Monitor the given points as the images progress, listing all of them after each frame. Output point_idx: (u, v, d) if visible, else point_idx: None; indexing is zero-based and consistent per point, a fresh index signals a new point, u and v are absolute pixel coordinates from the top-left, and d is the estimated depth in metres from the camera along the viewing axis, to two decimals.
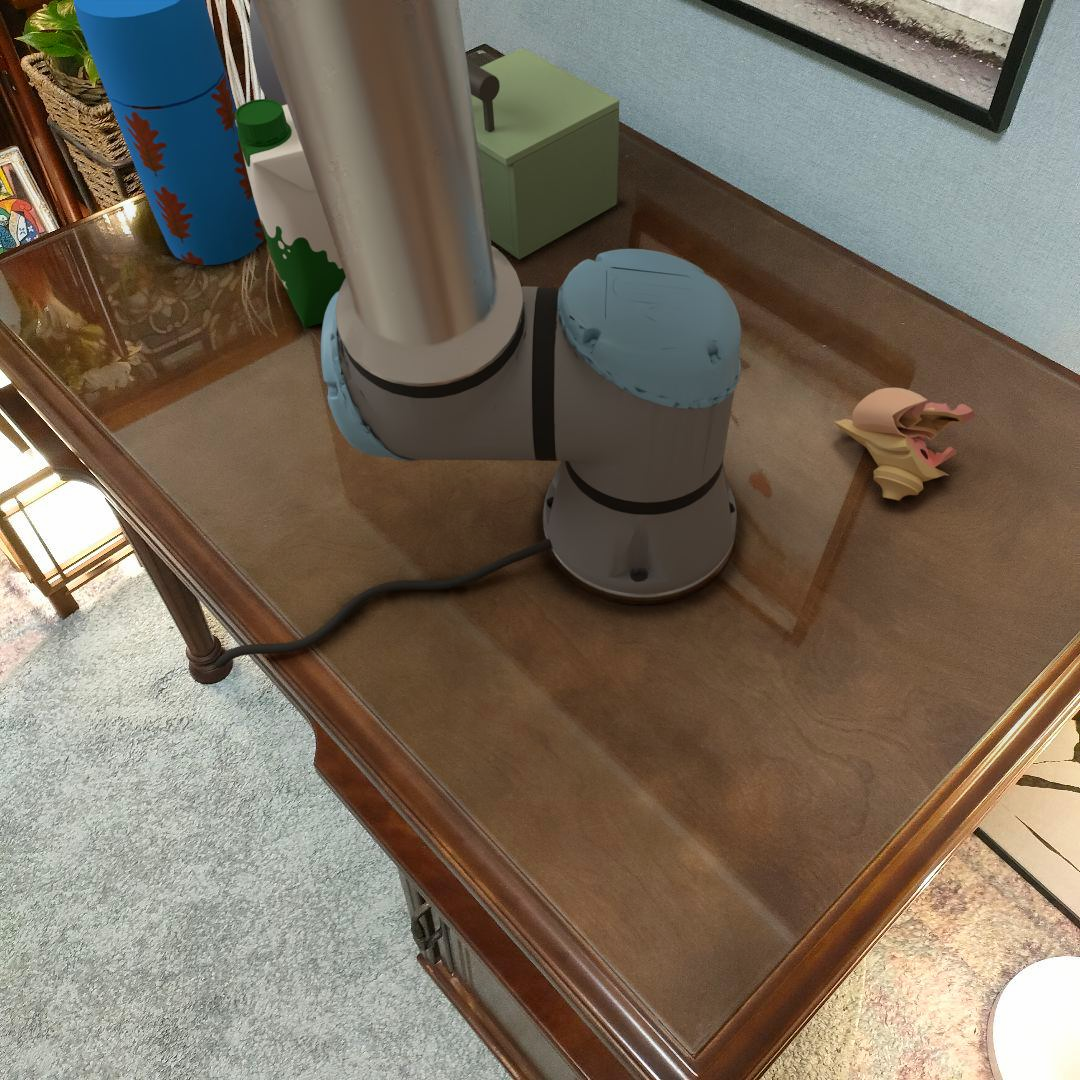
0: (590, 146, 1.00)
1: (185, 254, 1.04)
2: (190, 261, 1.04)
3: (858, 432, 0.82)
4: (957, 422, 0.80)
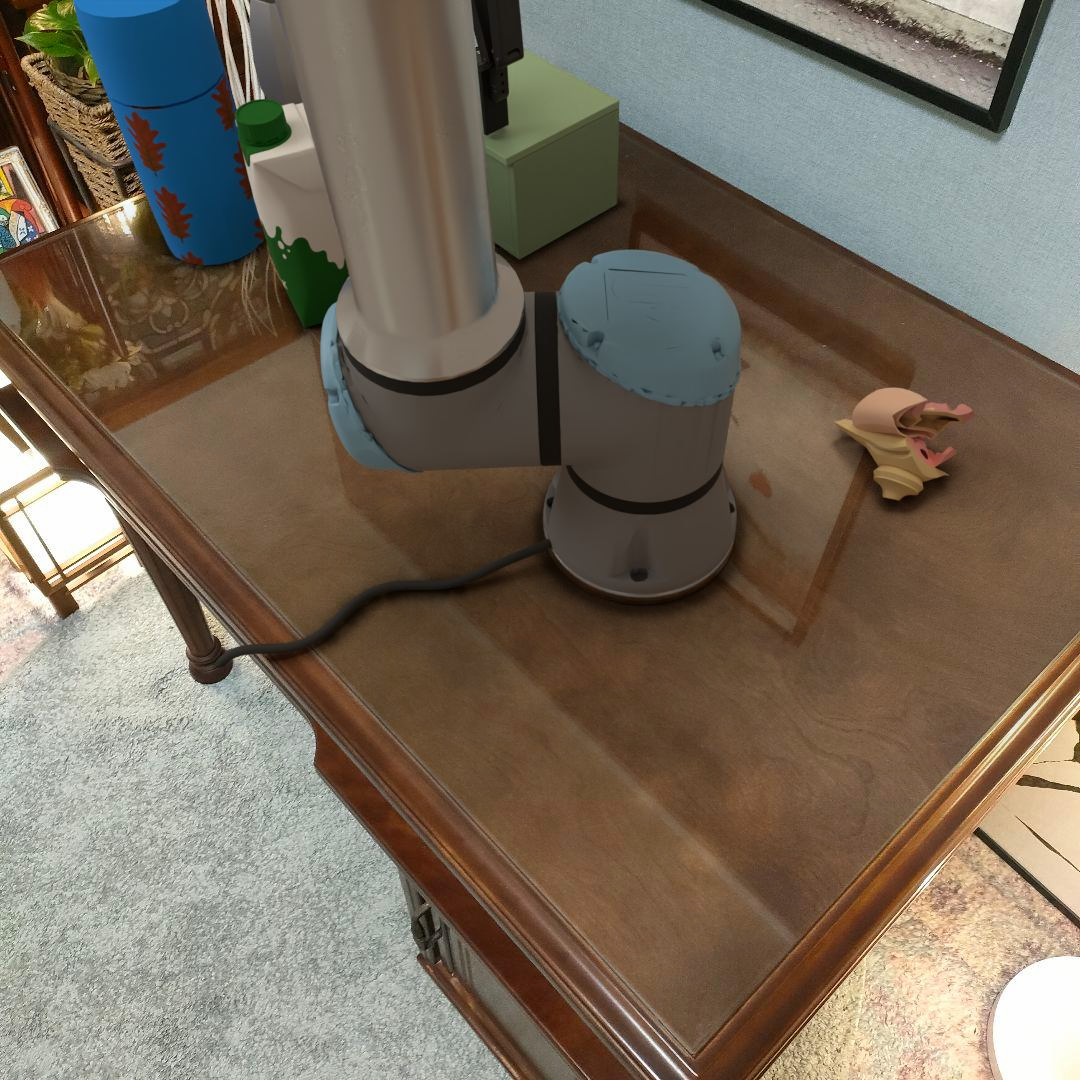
0: (590, 146, 1.00)
1: (185, 254, 1.04)
2: (190, 261, 1.04)
3: (858, 432, 0.82)
4: (957, 422, 0.80)
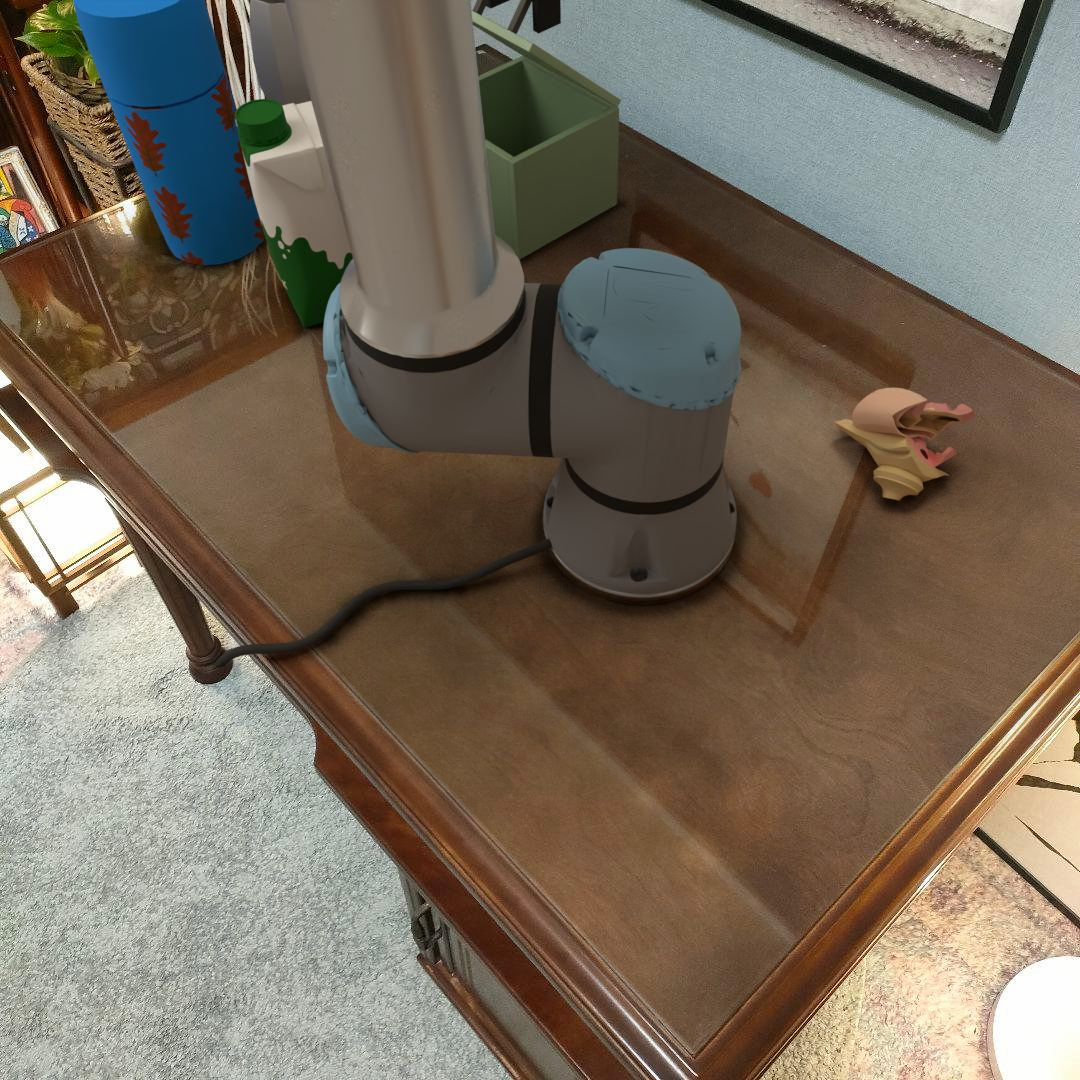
0: (590, 146, 1.00)
1: (185, 254, 1.04)
2: (190, 261, 1.04)
3: (858, 432, 0.82)
4: (957, 422, 0.80)
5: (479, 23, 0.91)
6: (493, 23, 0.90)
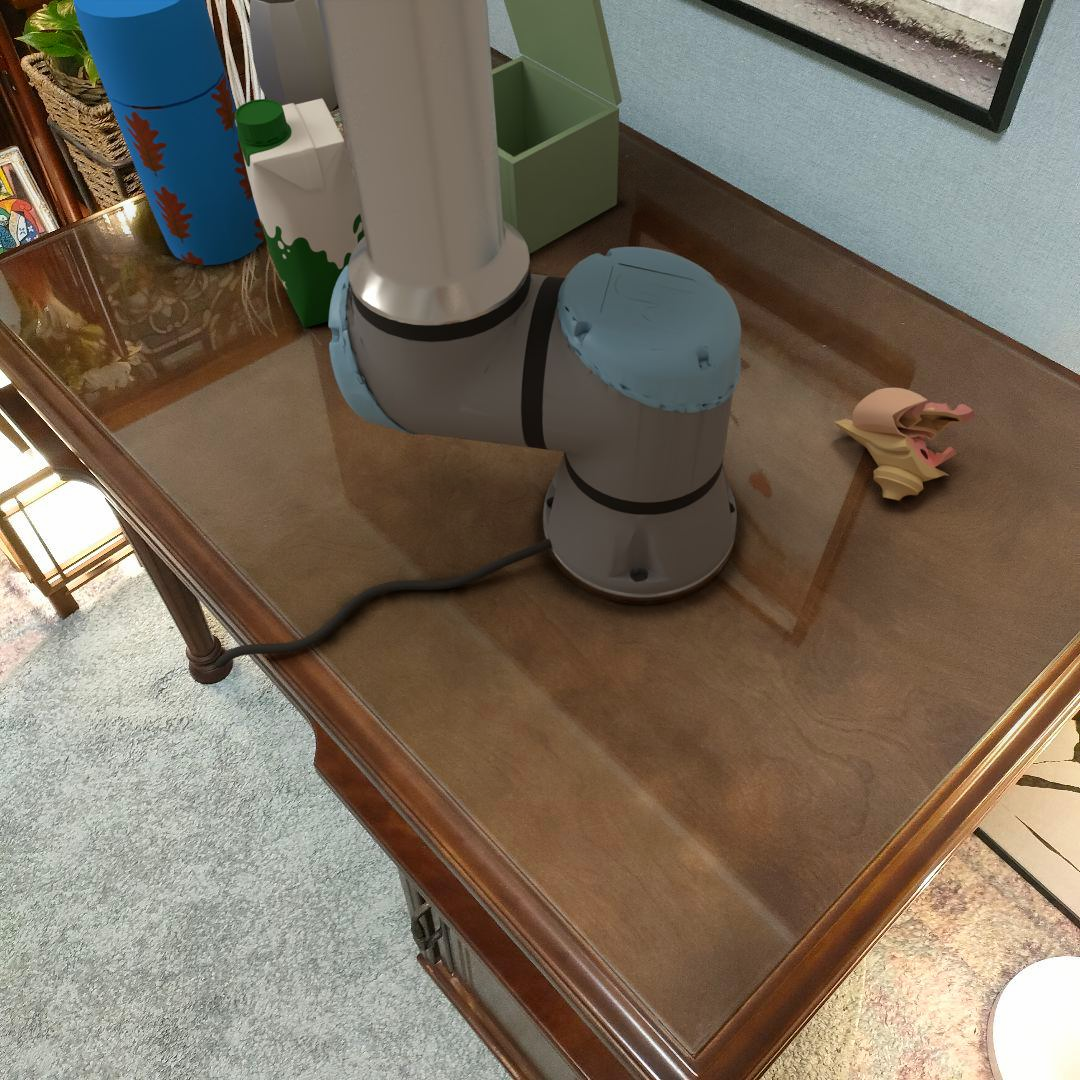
0: (590, 146, 1.00)
1: (185, 254, 1.04)
2: (190, 261, 1.04)
3: (858, 432, 0.82)
4: (957, 422, 0.80)
5: None
6: None
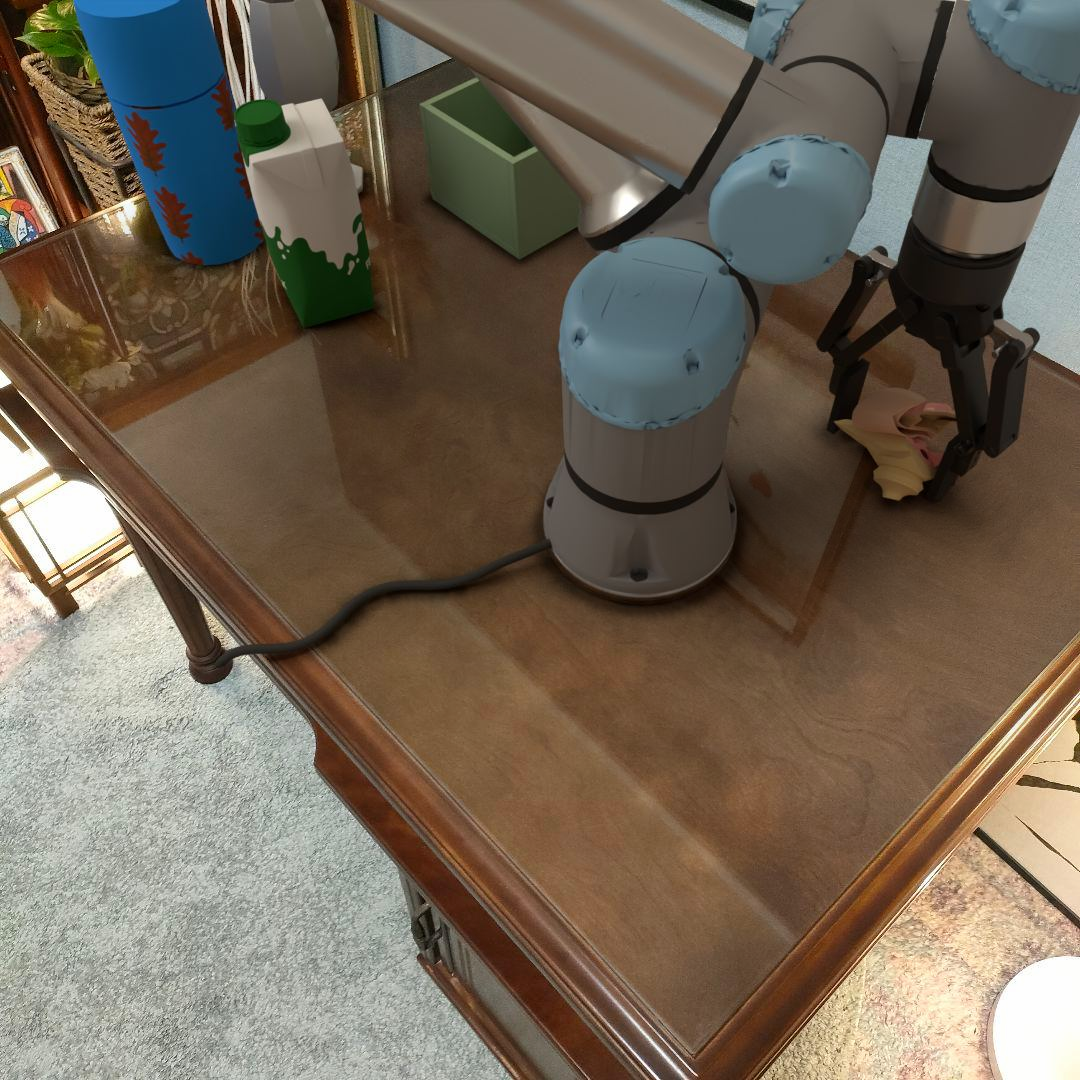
0: None
1: (185, 254, 1.04)
2: (190, 261, 1.04)
3: (858, 432, 0.82)
4: None
5: None
6: None
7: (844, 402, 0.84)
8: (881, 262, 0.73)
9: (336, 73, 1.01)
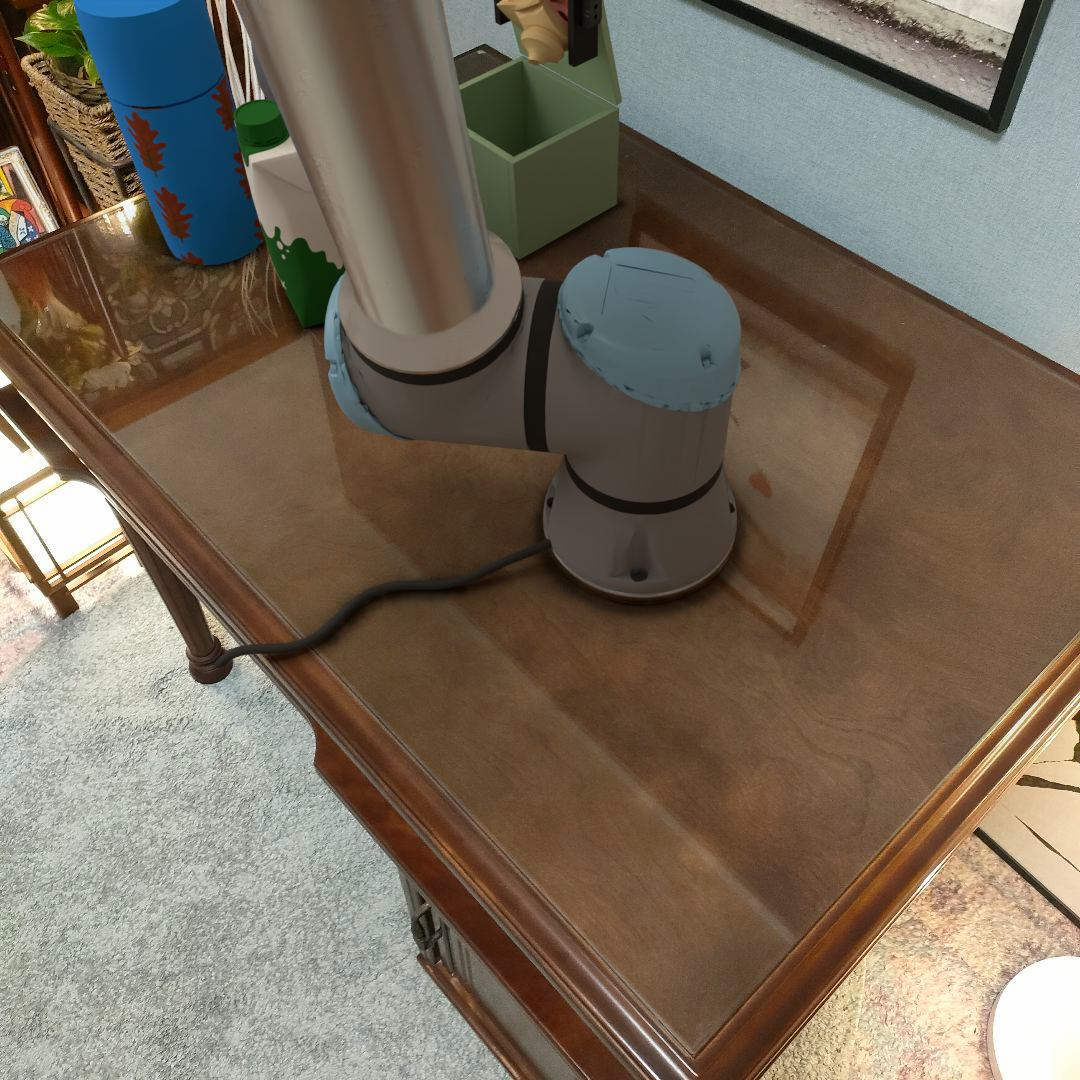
0: (590, 146, 1.00)
1: (185, 254, 1.04)
2: (190, 261, 1.04)
3: (508, 3, 0.88)
4: None
5: None
6: None
7: None
8: None
9: None
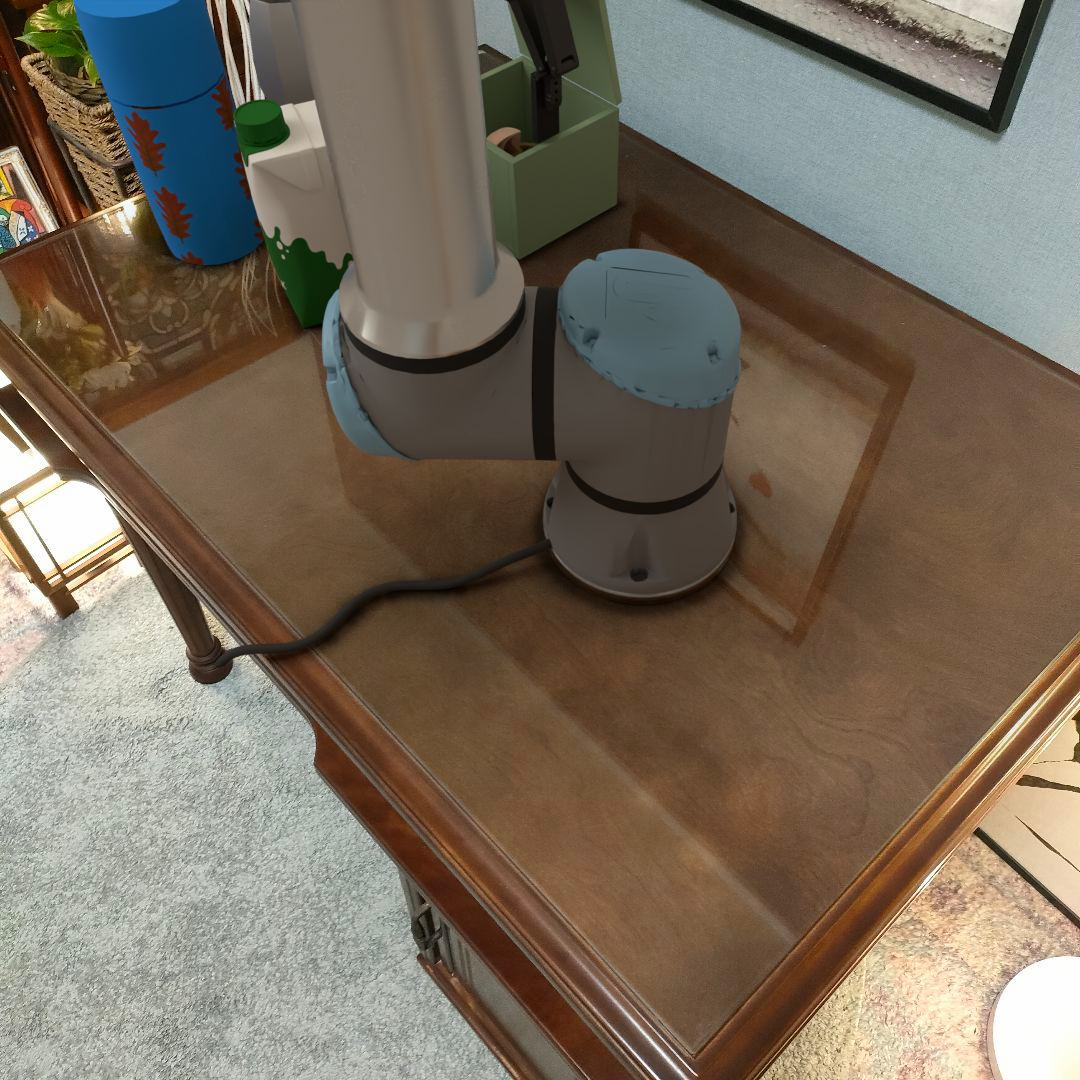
0: (590, 146, 1.00)
1: (185, 254, 1.04)
2: (190, 261, 1.04)
3: None
4: None
5: None
6: None
7: None
8: None
9: None
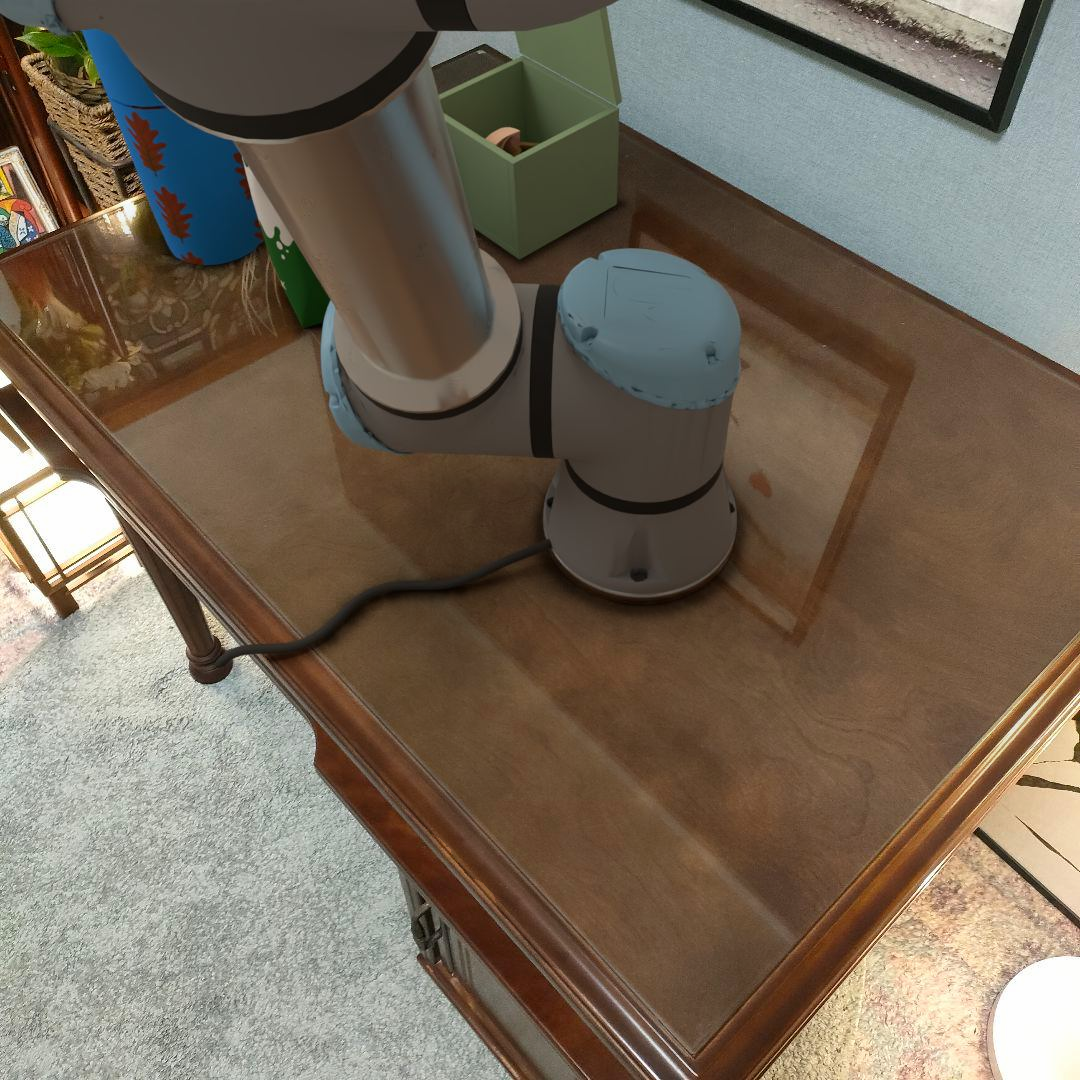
0: (590, 146, 1.00)
1: (185, 254, 1.04)
2: (190, 261, 1.04)
3: None
4: None
5: None
6: None
7: None
8: None
9: None
